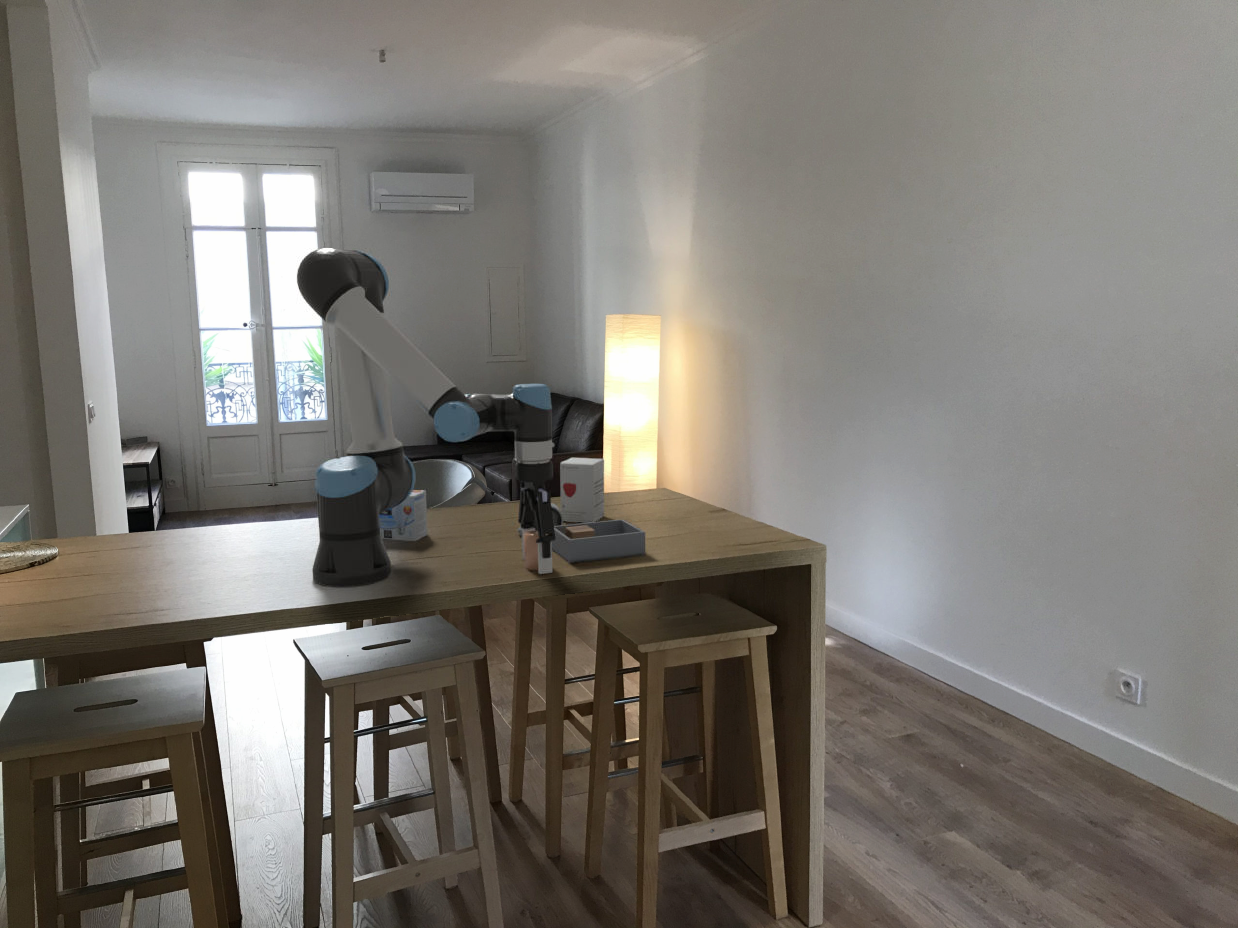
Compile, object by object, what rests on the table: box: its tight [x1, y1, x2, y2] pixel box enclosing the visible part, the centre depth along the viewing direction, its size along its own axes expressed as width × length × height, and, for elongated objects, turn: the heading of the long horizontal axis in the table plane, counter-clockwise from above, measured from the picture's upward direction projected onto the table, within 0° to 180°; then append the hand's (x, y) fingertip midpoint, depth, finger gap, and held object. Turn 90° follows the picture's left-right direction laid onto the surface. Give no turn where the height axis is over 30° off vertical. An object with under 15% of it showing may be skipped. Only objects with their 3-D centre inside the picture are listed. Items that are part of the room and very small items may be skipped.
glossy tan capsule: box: [524, 531, 548, 571], centre depth 192 cm, size 5×5×7 cm
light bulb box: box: [379, 489, 429, 542], centre depth 217 cm, size 11×7×11 cm, turn 76°
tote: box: [552, 519, 646, 564], centre depth 203 cm, size 17×13×5 cm
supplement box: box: [559, 457, 605, 523], centre depth 233 cm, size 9×9×15 cm
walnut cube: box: [565, 525, 595, 539], centre depth 201 cm, size 5×5×5 cm
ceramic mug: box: [517, 502, 564, 537], centre depth 219 cm, size 11×8×8 cm
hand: (537, 565), depth 192 cm, fingers open, 11 cm apart
